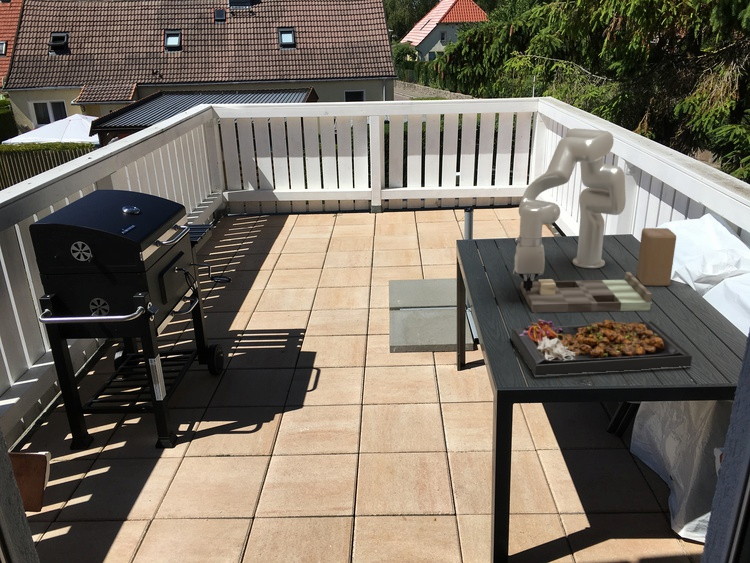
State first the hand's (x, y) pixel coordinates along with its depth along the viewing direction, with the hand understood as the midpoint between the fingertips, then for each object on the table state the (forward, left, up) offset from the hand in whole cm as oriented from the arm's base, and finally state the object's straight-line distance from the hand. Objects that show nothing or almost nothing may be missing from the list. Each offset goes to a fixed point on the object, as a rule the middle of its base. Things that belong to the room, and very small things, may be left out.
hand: (527, 289), depth 235 cm
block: (-16, +51, -4) cm, 53 cm away
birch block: (0, +7, -1) cm, 7 cm away
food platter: (+42, +12, -5) cm, 44 cm away
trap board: (0, +20, -4) cm, 20 cm away
